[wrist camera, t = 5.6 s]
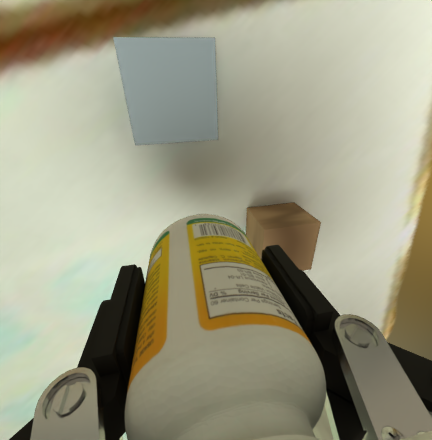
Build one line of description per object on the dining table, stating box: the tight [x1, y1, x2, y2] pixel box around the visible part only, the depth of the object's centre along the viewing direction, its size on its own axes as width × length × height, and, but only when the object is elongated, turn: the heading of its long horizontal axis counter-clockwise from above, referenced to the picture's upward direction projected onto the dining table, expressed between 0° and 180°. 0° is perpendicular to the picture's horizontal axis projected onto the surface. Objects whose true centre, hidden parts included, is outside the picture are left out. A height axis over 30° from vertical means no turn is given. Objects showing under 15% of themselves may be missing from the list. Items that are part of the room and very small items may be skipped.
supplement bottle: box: [125, 214, 326, 440], centre depth 8 cm, size 5×5×10 cm
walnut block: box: [246, 203, 321, 271], centre depth 21 cm, size 5×5×4 cm
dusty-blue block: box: [113, 37, 218, 145], centre depth 14 cm, size 5×5×4 cm
